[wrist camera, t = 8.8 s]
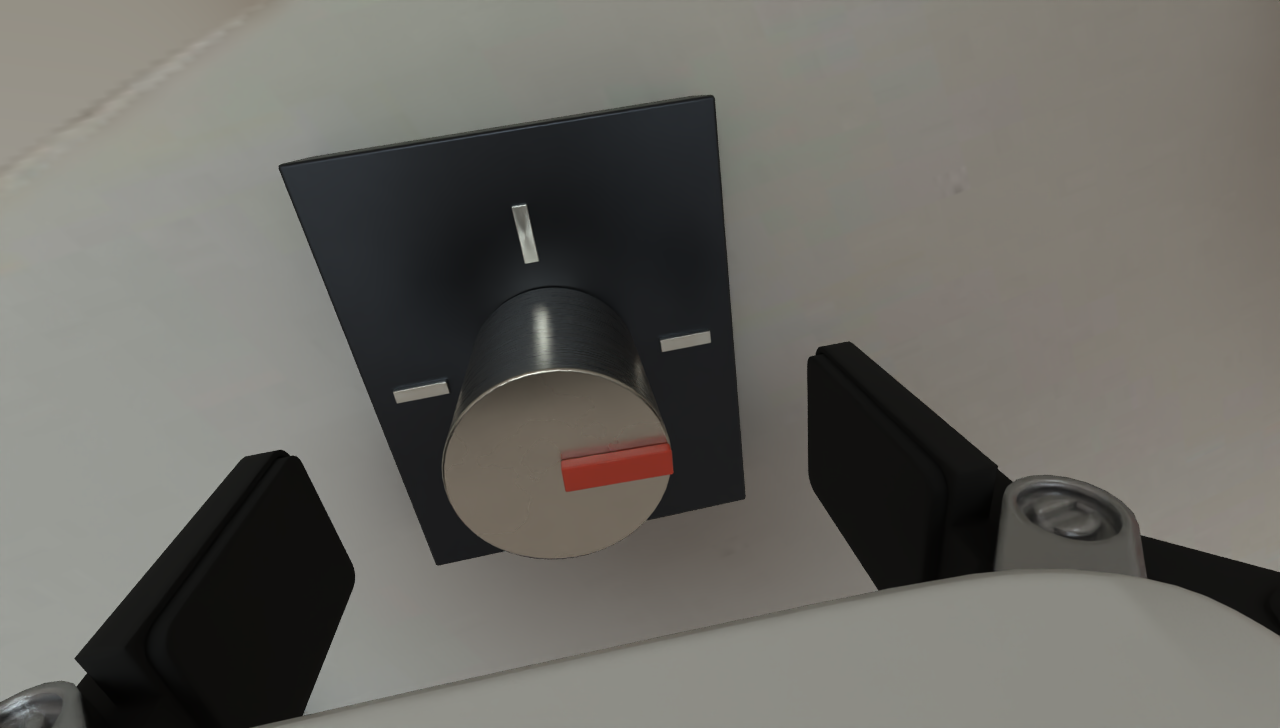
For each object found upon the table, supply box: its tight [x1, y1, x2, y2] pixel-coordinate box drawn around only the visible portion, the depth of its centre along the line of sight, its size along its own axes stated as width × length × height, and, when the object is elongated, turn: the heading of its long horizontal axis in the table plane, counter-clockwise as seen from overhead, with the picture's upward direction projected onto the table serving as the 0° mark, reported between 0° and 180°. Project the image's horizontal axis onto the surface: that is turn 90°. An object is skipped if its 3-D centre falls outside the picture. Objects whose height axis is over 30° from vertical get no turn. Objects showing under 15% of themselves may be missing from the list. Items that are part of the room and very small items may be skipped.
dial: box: [442, 288, 674, 559], centre depth 13 cm, size 4×4×5 cm
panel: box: [279, 95, 746, 565], centre depth 16 cm, size 12×10×2 cm
